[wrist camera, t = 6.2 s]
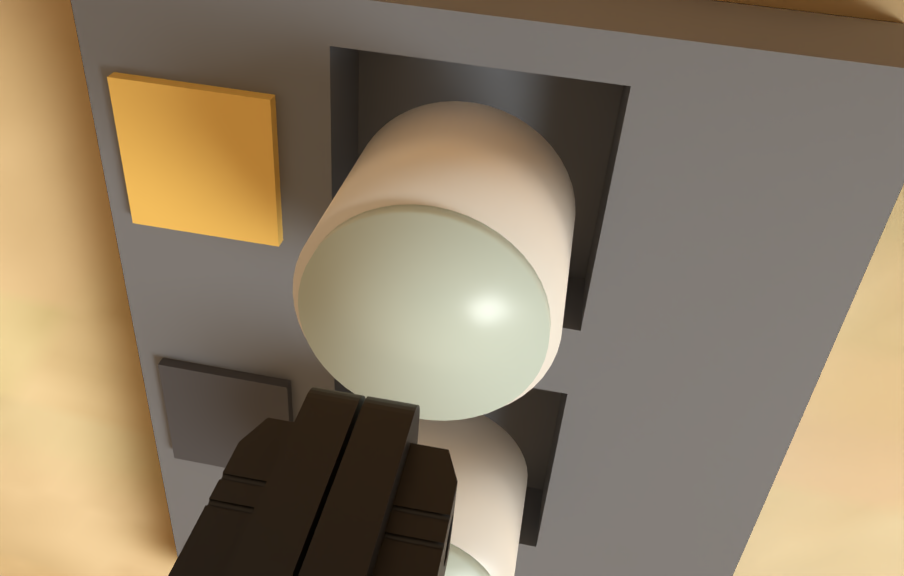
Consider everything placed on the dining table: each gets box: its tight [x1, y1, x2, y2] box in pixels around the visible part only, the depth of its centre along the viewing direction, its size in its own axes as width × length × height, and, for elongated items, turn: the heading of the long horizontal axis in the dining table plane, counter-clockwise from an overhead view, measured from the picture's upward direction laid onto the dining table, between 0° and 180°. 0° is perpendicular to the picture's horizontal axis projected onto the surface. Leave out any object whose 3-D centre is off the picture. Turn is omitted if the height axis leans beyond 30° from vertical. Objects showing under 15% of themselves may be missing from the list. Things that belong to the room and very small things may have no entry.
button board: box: [71, 0, 904, 576], centre depth 24 cm, size 17×24×3 cm
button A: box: [293, 101, 576, 421], centre depth 16 cm, size 5×5×4 cm
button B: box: [418, 415, 528, 576], centre depth 21 cm, size 5×5×4 cm
